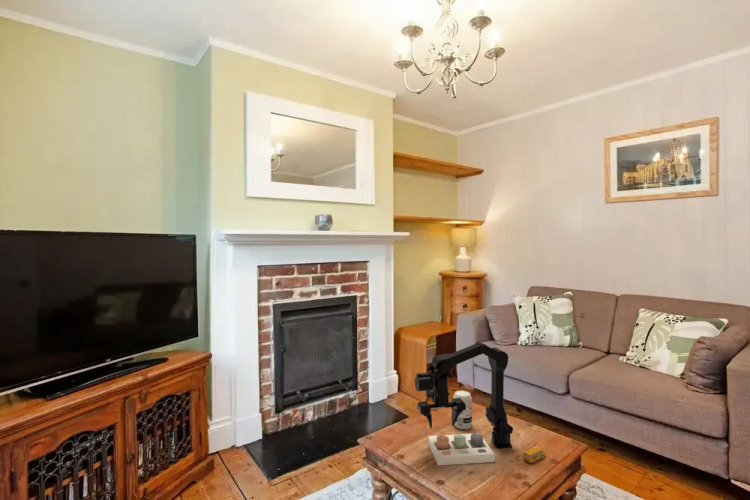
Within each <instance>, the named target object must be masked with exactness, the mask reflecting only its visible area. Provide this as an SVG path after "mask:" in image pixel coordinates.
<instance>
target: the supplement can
mask: <svg viewBox="0 0 750 500" xmlns="http://www.w3.org/2000/svg"><path fill="white" fill-rule="evenodd" d="M453 398H461V399H462V400H463V401H464V402H465V404H466V410H463V412H461V413H460V415H459V416H458V418H457V420H456V422H455V424H454V426H453V427H455V428H456V429H458V428H459V430H462V429H466V430H469V429H471V428H472V426H473V412H472V411H473V401H472V400H473V397H472V395H471V392H469V391H467V390H456V391H455V392H454V394H453ZM453 398H452V399H453Z"/></svg>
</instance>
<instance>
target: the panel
mask: <svg viewBox="0 0 750 500" xmlns="http://www.w3.org/2000/svg"><path fill="white" fill-rule="evenodd" d="M477 433H478V432H477ZM471 434H472V433H461V435H464V436H465V437H466V447H464V448H458V447H456V446H454V435H455V434H445V435H444V436H447V437H448V438H449V447H448V448H447V449H441V448H438V447H437V436H438V435H428V436H427V437H428V438H427V439H428V441H427V442H428V445H429V448H430V450H431V452H432V455H433V457H434V459H435V461H436V464H437V466H447V465H449V466H450V465H463V464H466V465H467V464H478V463H479V464H480V463H491V462H492V463H493V462H495V452H493V450H492V448H491V447H490V446H489V444H488V443H487V442H486V441H485V438H483V446H481V447H476V446H473V445H471ZM478 434H481V433H480V432H479V433H478Z"/></svg>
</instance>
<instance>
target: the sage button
mask: <svg viewBox="0 0 750 500" xmlns="http://www.w3.org/2000/svg"><path fill="white" fill-rule="evenodd" d="M461 434H462V433H461ZM461 434H460V433H458V434H457V433H456V434H453V435H454V446H456V447H458V448H457V449H465V448H464V447H466V437H465V436H464V435H461Z"/></svg>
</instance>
